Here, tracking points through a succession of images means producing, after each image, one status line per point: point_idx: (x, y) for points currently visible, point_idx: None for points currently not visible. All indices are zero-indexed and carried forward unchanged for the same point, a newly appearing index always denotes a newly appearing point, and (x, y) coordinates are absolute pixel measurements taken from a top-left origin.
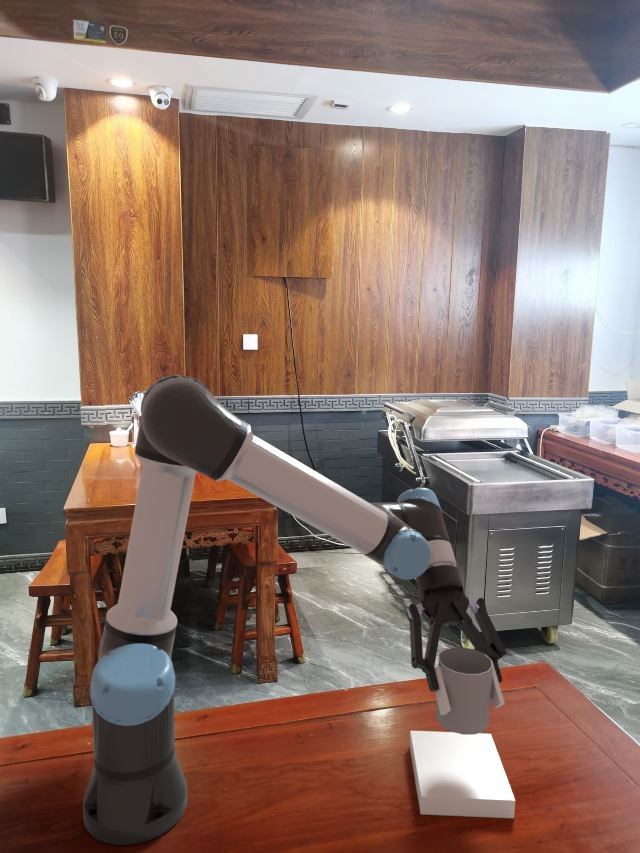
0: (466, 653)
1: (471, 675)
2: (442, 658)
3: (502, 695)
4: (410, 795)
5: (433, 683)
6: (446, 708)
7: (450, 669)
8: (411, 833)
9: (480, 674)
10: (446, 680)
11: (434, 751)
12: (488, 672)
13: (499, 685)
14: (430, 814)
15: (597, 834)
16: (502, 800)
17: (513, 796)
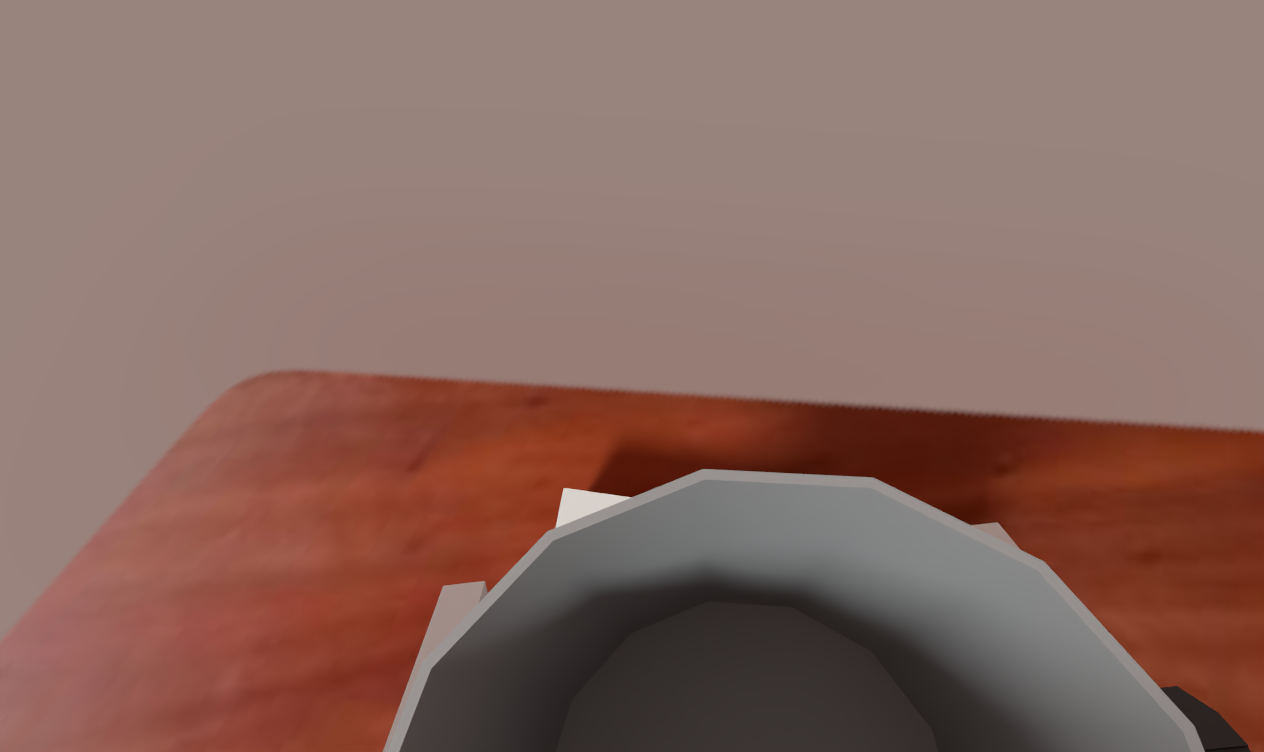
0: None
1: (803, 480)
2: None
3: (428, 629)
4: None
5: (1206, 741)
6: (999, 536)
7: (1096, 636)
8: (1009, 469)
9: (676, 483)
10: (1062, 691)
11: None
12: (544, 540)
13: (403, 699)
14: None
15: (320, 415)
16: (617, 497)
17: (560, 511)
